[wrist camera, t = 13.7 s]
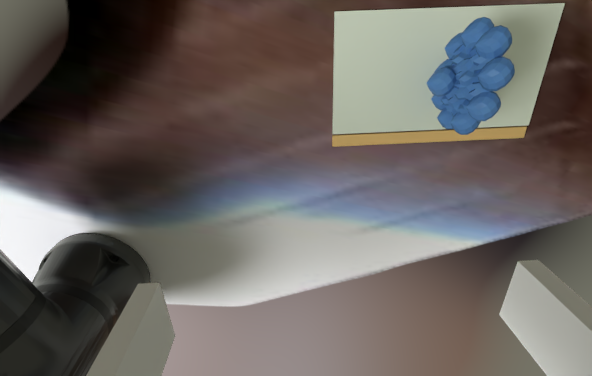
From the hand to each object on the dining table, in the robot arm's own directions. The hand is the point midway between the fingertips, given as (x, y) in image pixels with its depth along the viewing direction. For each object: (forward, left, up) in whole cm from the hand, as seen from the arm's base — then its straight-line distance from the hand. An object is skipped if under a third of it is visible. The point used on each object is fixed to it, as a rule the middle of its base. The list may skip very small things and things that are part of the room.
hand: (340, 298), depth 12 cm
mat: (+17, +4, -32) cm, 36 cm away
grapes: (+17, +4, -31) cm, 36 cm away
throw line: (+17, -4, -32) cm, 36 cm away
